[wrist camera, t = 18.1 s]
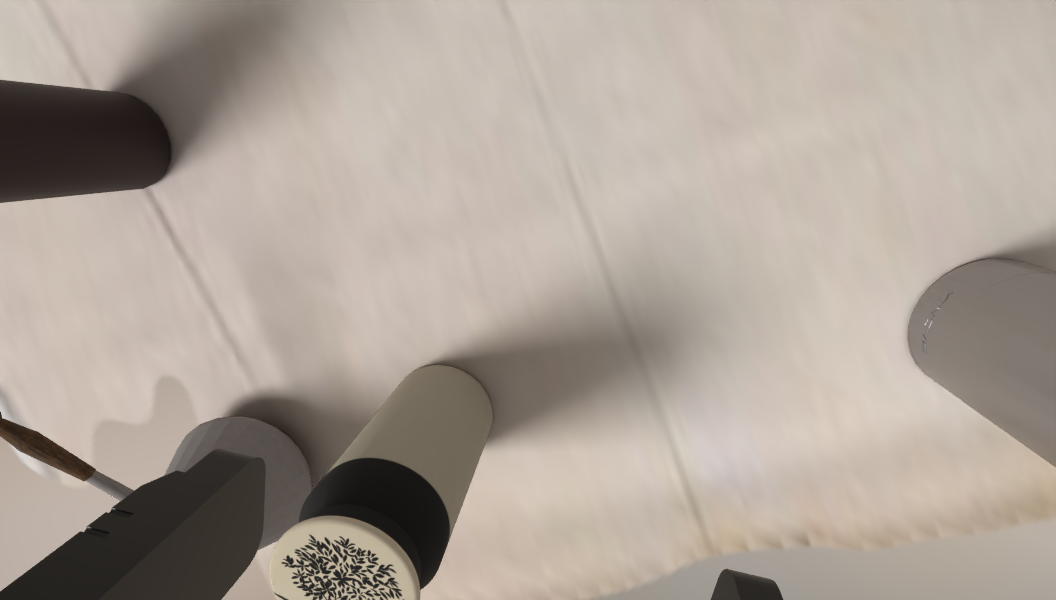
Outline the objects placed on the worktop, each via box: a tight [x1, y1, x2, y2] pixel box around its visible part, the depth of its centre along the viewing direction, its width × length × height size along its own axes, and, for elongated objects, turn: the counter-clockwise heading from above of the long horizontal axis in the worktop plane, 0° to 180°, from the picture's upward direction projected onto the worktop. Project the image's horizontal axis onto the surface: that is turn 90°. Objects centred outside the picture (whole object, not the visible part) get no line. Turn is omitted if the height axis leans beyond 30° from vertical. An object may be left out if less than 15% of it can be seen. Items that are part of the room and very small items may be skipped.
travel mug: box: [269, 365, 493, 600], centre depth 34 cm, size 8×8×18 cm
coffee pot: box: [0, 412, 312, 550], centre depth 38 cm, size 21×12×15 cm, turn 30°
